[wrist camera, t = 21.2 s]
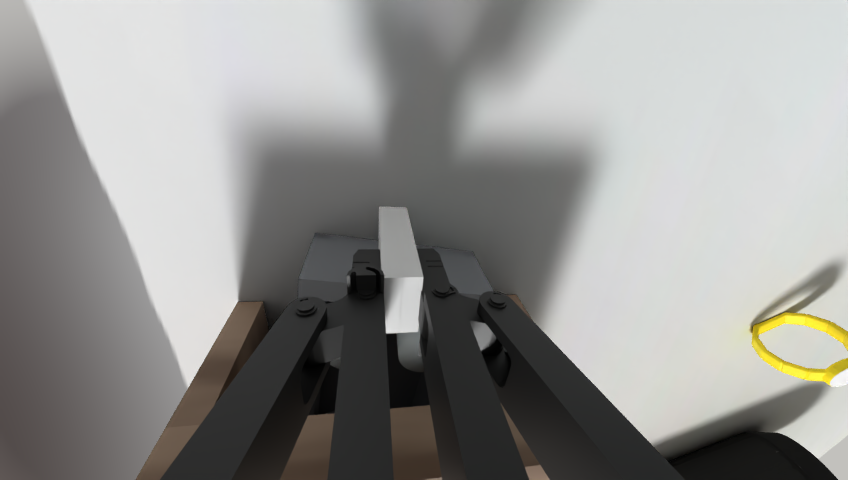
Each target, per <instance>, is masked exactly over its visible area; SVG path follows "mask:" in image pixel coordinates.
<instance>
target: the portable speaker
mask: <svg viewBox="0 0 848 480" xmlns="http://www.w3.org/2000/svg"><path fill="white" fill-rule="evenodd" d="M669 463H670V464H671V466H672V467H673V468H674V469H675V470H676V471H677V472H678V473H679V474H680V475H681V476H682V477H683V478H684V479H685V480H838V479H837V478H836V477H835V476H834V475H833V474H832V473H831V471H830V470H829V469H828V468H827V467H826V466H825V465H824V464H823V463H822V462H820V461H819V460H818V459H817V458H816V457H815V456H814V455H813V454H812V453H810V452H809V451H808V450H807V449H805V448H804V447H803V446H801V445H800V444H799V443H797V442H796V441H794V440H792V439H791V438H789V437H787V436H785V435H783V434H780V433H768V432H748V433H743V434H740V435H737V436H734V437H732V438H729V439H727V440H724V441H721V442H719V443H716V444H713V445H711V446H708V447H706V448H703V449H700V450H698V451H695V452H693V453H690V454H688V455H685V456H682V457H680V458H677V459H675V460H672V461H670V462H669Z"/></svg>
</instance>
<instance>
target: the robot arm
mask: <svg viewBox="0 0 848 480" xmlns="http://www.w3.org/2000/svg"><path fill="white" fill-rule="evenodd" d="M418 327H420V341H419V350H418V356H421V355H422V361H423V367H424V373H425V379H426V385H427V391H428V397H429V403H430V409H431V415H432V421H433V427H434V433H435V439H436V445H437V452H438V458H439V464H440V470H441V476H442V480H529V477H528V475H527V472H526V469H525V467H524V464H523V461H522V459H521V456H520V453H519V451H518V448H517V445H516V443H515V440H514V437H513V435H512V432H511V430H510V427H509V424H508V422H507V419H506V416H505V414H504V411H503V408H502V406H503V407H504V409H505V410H506V412H507V414H508V415H509V417H510V418H511V420H512V421H513V423H514V424H515V426H516V428H517V429H518V431H519V432H520V434H521V435H522V437H523V439H524V440H525V442H526V443H527V445H528V446H529V448H530V450H531V451H532V453H533V454H534V456H535V457H536V459H537V461H538V462H539V464H540V465H541V467H542V468H543V470H544V471H545V473H546V475H547V476H548V478H549V479H550V480H685V479H684V478H683V477H682V476H681V475H680V474H679V473H678V472H677V471H676V470H675V469H674V468H673V467H672V466H671V464H670V463H669V462H668V461H667V460H666V459H665V458H664V457H663V456H662V455H661V454H660V453H659V452H658V451H657V450H656V449H655V448H654V447H653V446H652V445H651V444H650V443H649V442H648V441H647V439H646V438H645V437H644V436H643V435H642V434H641V433H640V432H639V431H638V430H637V429H636V428H635V427H634V426H633V425H632V424H631V423H630V422H629V421H628V420H627V419H626V418H625V417H624V416H623V414H622V413H621V412H620V411H619V410H618V409H617V408H616V407H615V406H614V405H613V404H612V403H611V402H610V401H609V400H608V399H607V398H606V397H605V396H604V395H603V394H602V393H601V392H600V391H599V389H598V388H597V387H596V386H595V385H594V384H593V383H592V382H591V381H590V380H589V379H588V378H587V377H586V376H585V375H584V374H583V373H582V372H581V371H580V370H579V369H578V368H577V367H576V366H575V364H574V363H573V362H572V361H571V360H570V359H569V358H568V357H567V356H566V355H565V354H564V353H563V352H562V351H561V350H560V349H559V348H558V347H557V346H556V345H555V344H554V343H553V342H552V341H551V339H550V338H549V337H548V336H547V335H546V334H545V333H544V332H543V331H542V330H541V329H540V328H539V327H538V326H537V325H536V324H535V323H534V322H533V321H532V320H531V319H530V318H529V317H528V316H527V314H526V313H525V312H524V311H523V310H522V309H521V308H520V307H519V306H518V305H517V304H516V303H515V302H514V301H513V300H512V299H511V298H510V297H508V296H507V295H505V294H503V293H501V292H496V291H487V292H485V293H482V295H481V296H480V298H479V299H474V298H469V297H465V296H462V295H460V294H459V292H458V290H457V289H456V287H454V286H453V285H452V284H450V282H449V279H448V277H447V274H446V271H445V268H444V265H443V263H442V260H441V257H440V254H439V253H438V252H437V251H435V250H434V249H433V248H430V249H417V248H416V244H415V240H414V236H413V232H412V227H411V223H410V219H409V215H408V211H407V207H379V245H378V249H358V250H357V252H356V253H355V254H354V255H353V263H352V269H351V270H350V271H349V272H348V274H347V295H346V296H345V297H343V298H342V299H340V300H338V301H335V302H332V303H328V304H325V302H324V301H323V300H322V299H320V298H317V297H303V298H299V299H297V300H295V301H293V302H291V303H290V304H289V305H288V306H287V307H286V309H285V310H284V311H283V313H282V314H281V315H280V317H279V318H278V320H277V321H276V322H275V324H274V325H273V326H272V328H271V329H270V330H269V332H268V333H267V334H266V336H265V337H264V339H263V340H262V341H261V343H260V344H259V345H258V347H257V348H256V349H255V351H254V352H253V354H252V355H251V356H250V358H249V359H248V360H247V362H246V363H245V364H244V366H243V367H242V369H241V370H240V371H239V373H238V374H237V375H236V377H235V378H234V379H233V381H232V382H231V383H230V385H229V386H228V388H227V389H226V390H225V392H224V393H223V394H222V396H221V397H220V398H219V400H218V401H217V403H216V404H215V405H214V407H213V408H212V409H211V411H210V412H209V413H208V415H207V416H206V417H205V419H204V420H203V422H202V423H201V424H200V426H199V427H198V428H197V430H196V431H195V432H194V434H193V435H192V437H191V438H190V439H189V441H188V442H187V443H186V445H185V446H184V447H183V449H182V450H181V452H180V453H179V454H178V456H177V457H176V458H175V460H174V461H173V462H172V464H171V465H170V466H169V468H168V469H167V471H166V472H165V473H164V475H163V476H162V477H161V479H160V480H280V478H281V476H282V474H283V471H284V469H285V467H286V465H287V462H288V460H289V458H290V455H291V453H292V451H293V449H294V446H295V444H296V442H297V439H298V437H299V435H300V433H301V430H302V428H303V426H304V423H305V421H306V419H307V417H308V414H309V412H310V410H311V407H312V405H313V403H314V401H315V398H316V396H317V394H318V391H319V389H320V387H321V385H322V382H323V380H324V378H325V375H326V373H327V371H328V369H329V366H330V363H331V361H332V360H335V359H338V358H340V367H339V376H338V386H337V395H336V404H335V413H334V423H333V432H332V441H331V450H330V459H329V469H328V478H327V480H394V475H393V456H392V437H391V418H390V399H389V380H388V361H387V342H386V333H408V332H418ZM501 404H502V406H501Z"/></svg>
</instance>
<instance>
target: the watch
mask: <svg viewBox="0 0 848 480" xmlns="http://www.w3.org/2000/svg"><path fill="white" fill-rule="evenodd" d="M782 324H796V325H805V326H808V327H811V328H814V329H817V330H820V331H823V332H826V333H827V334H829V335H831V336H832V337H834V338H835V339H837V340H838V341H840V342H841V343H843V345H844V346H845V348H846V349H847V351H848V331H846V330H844V329H843V328H841V327H840V326H838V325H836V324H835V323H833V322H830V321H828V320H825V319H822V318H819V317H815V316H812V315H809V314H807V315H806V314H802V313H788V312H784V313H782V314H780V315H778V316H776V317H773V318H771V319H769V320H767V321H764V322H761V323H759V324H755V326H753V334H752V346H753V348H754V349H755V351H756V352H757V354H758V355H759V357H760V358H762V360H764V361H765V362H767V363H768V364H770V365H771V366H773V367H774V368H776V369H777V370H779V371H781V372H783V373H786V374H789V375H792V376H795V377H798V378H801V379H806V380H810V381H824V382H826V383H827V384H828V385H830V386H832V387H840V386H843V385H846V384H848V358H846V359H843V360H840V361H838V362H836V363H834V364H832V365H831V366H829V367H828V368H827V369H812V368H808V369H807V368H805V367H802V366H799V365H795V364H792V363H789V362H786V361H784V360H782V359H780V358H779V357H777V356H776V355H774V354H773V353H771V352H769V351H768V350H767V349H766V348H765V346H764V345H763V344H762V342H761V341H760V339H759V338H758V336H759V334H762V333H764V332H766V331H768V330H771V329H773V328H775V327H777V326H780V325H782Z"/></svg>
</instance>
